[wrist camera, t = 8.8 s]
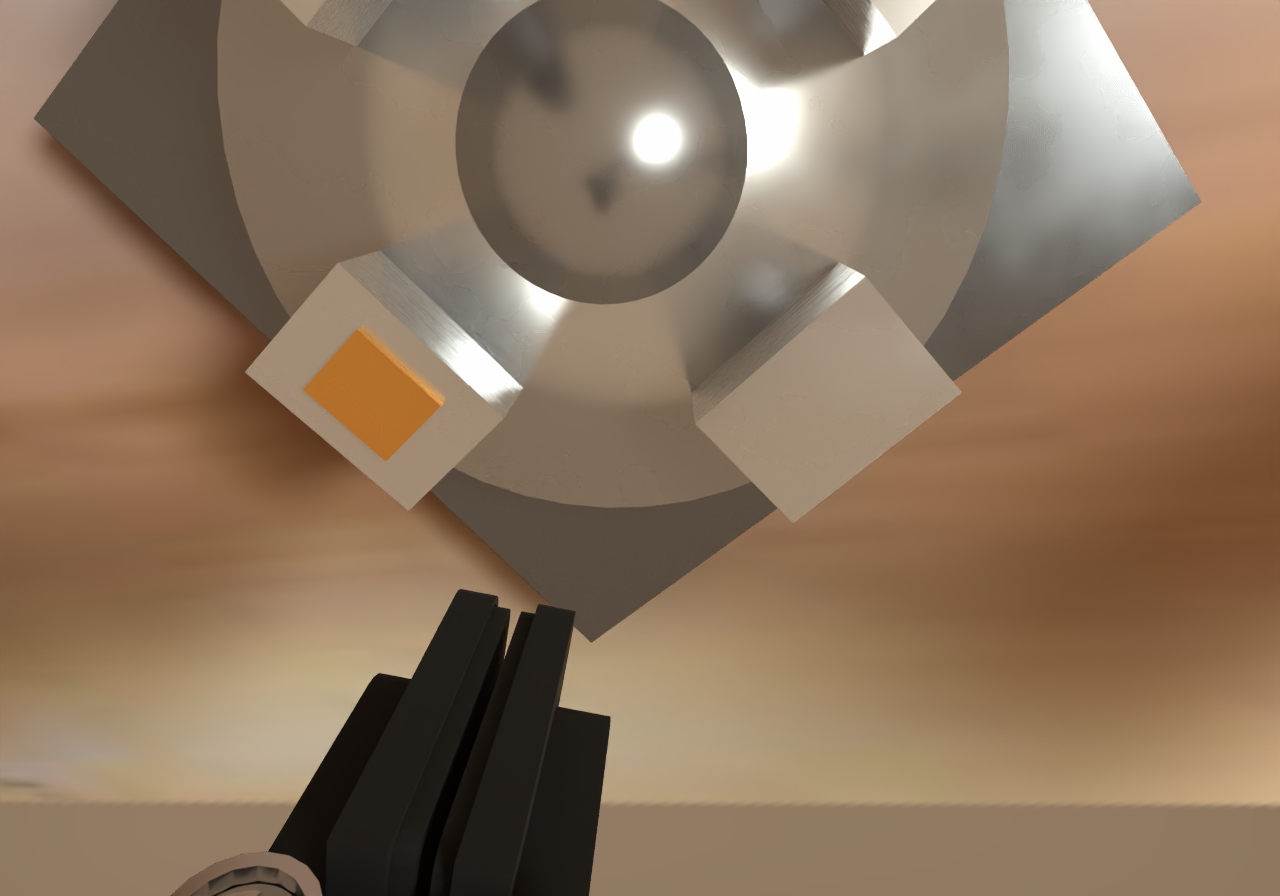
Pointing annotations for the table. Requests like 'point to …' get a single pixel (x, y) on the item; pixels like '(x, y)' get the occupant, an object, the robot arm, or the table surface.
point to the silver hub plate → (612, 232)
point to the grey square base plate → (695, 530)
